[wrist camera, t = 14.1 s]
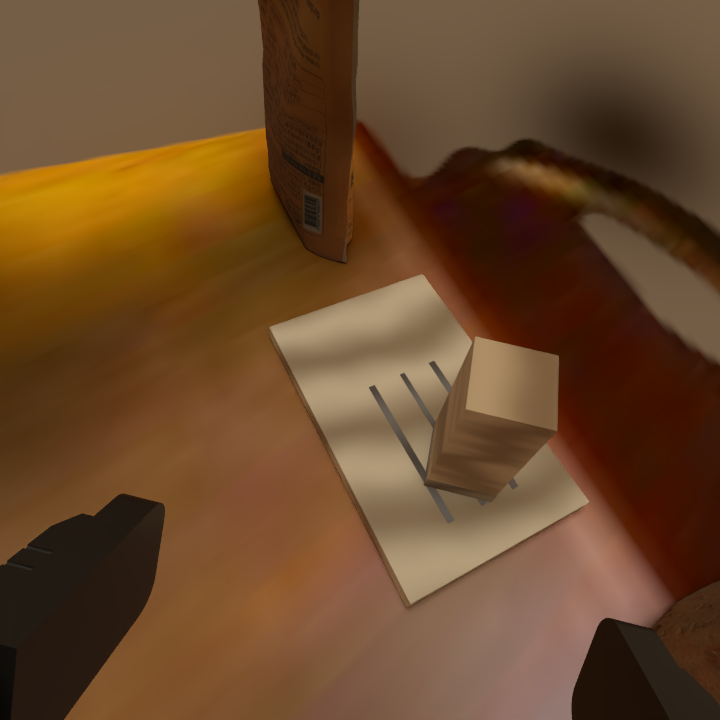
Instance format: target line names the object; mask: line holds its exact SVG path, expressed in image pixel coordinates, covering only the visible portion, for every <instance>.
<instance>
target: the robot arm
mask: <svg viewBox="0 0 720 720" xmlns="http://www.w3.org/2000/svg"><path fill="white" fill-rule="evenodd" d="M164 517H165V507H164V505H163V504H162V503H159V502H155V501H151V500H147V499H143V498H139V497H135V496H131V495H127V494H120V495H118V496H117V497H116V498H114V499H113V500H112V501H111V502H110V503H109V504H107V505H106V506H105V507H104V508H103V509H102V510H100V511H99V512H98V513H97V514H96V515H95V516H90V515H86V514H80V515H77V516H75V517H72V518H70V519H67V520H65V521H62V522H60V523H57V524H55V525H53V526H51V527H49V528H48V529H47V530H46V531H44V532H43V533H42V534H40V535H39V536H38V537H37V538H35V539H34V540H33V541H32V542H30V543H29V544H28V546H27V548H26V549H25V548H23V549H21V550H20V551H19V552H18V553H16V554H15V555H14V556H12V557H11V558H10V559H9V560H8V561H7V563H6V565H3V564H2V565H1V566H0V720H64V719H65V717H66V716H67V714H68V713H69V712H70V710H71V709H72V708H73V706H74V705H75V703H76V702H77V701H78V699H79V698H80V697H81V695H82V694H83V692H84V691H85V690H86V688H87V687H88V686H89V684H90V683H91V681H92V680H93V679H94V677H95V676H96V675H97V673H98V672H99V670H100V669H101V668H102V666H103V665H104V664H105V662H106V661H107V659H108V658H109V657H110V655H111V654H112V652H113V651H114V650H115V648H116V647H117V646H118V644H119V643H120V641H121V640H122V639H123V637H124V636H125V635H126V633H127V632H128V630H129V629H130V628H131V626H132V625H133V624H134V622H135V621H136V619H137V618H138V617H139V615H140V614H141V612H142V610H143V609H144V607H145V605H146V603H147V601H148V598H149V596H150V593H151V591H152V588H153V584H154V580H155V575H156V569H157V562H158V556H159V549H160V543H161V536H162V530H163V523H164ZM572 720H720V706H719V704H718V703H717V701H716V700H715V698H714V697H713V696H712V695H710V694H709V693H708V692H707V691H706V690H705V689H704V688H703V687H702V686H701V685H700V684H699V683H698V682H697V681H696V680H695V679H694V678H693V677H692V676H691V675H690V674H689V673H688V672H687V671H686V670H685V669H682V668H680V667H679V666H678V664H677V663H676V661H675V660H674V658H673V657H672V655H671V654H670V652H669V651H668V649H667V647H666V646H665V644H664V643H663V641H662V640H661V638H660V637H659V635H658V634H657V633H656V632H655V631H654V630H652V629H650V628H646V627H643V626H639V625H635V624H631V623H627V622H623V621H619V620H615V619H611V618H605V619H603V620H602V621H601V622H600V624H599V625H598V628H597V630H596V632H595V635H594V638H593V640H592V643H591V645H590V648H589V651H588V653H587V656H586V658H585V661H584V664H583V666H582V669H581V671H580V674H579V677H578V679H577V682H576V684H575V687H574V691H573V696H572Z"/></svg>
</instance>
